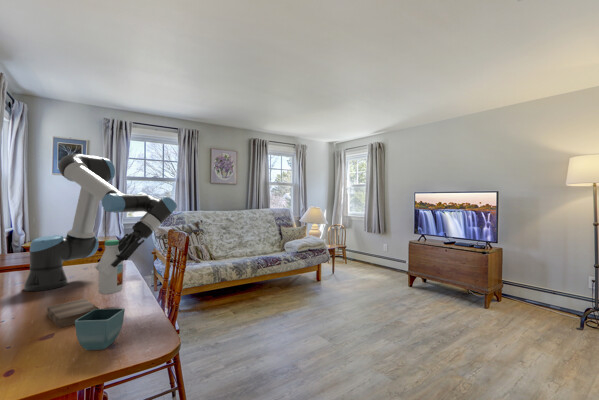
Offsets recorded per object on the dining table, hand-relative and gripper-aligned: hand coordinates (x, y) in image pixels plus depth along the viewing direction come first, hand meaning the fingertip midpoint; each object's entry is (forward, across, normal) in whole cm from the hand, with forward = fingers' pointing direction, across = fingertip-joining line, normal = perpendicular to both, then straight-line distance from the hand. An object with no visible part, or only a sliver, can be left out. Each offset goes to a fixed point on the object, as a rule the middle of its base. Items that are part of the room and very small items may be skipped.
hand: (100, 271), depth 108 cm
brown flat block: (+16, -2, -4) cm, 17 cm away
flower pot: (+16, -33, -3) cm, 37 cm away
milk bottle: (+4, 0, -9) cm, 10 cm away
